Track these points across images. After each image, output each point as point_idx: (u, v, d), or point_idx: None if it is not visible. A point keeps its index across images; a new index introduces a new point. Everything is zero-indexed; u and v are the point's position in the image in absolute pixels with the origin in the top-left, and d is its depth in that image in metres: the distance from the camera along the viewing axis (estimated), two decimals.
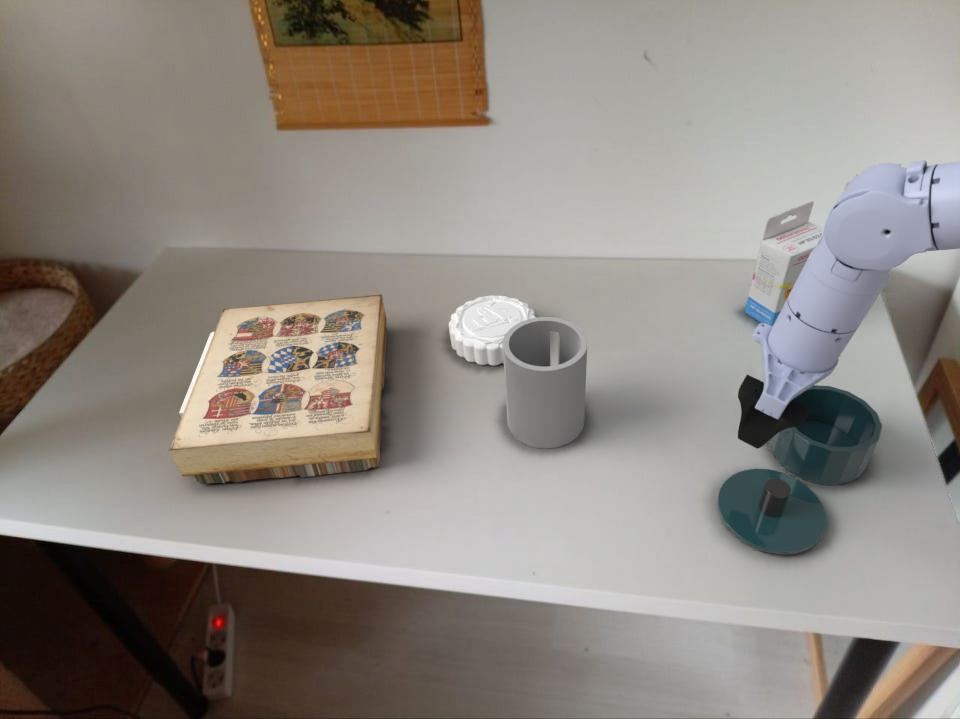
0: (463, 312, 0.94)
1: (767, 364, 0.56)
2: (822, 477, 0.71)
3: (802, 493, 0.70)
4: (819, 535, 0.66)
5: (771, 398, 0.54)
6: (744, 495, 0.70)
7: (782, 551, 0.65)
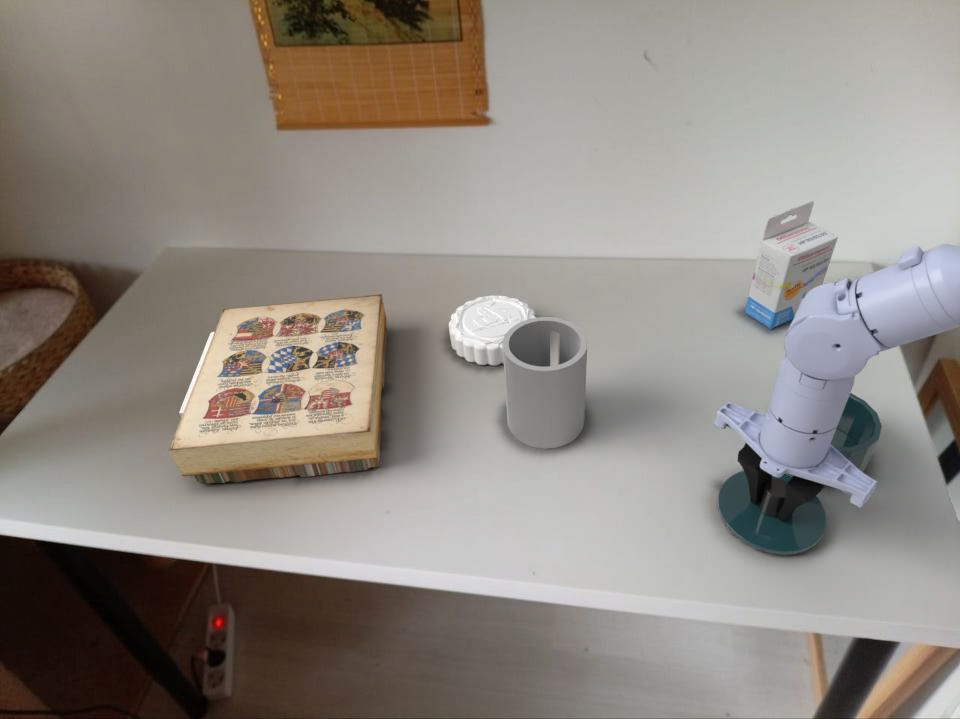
0: (463, 312, 0.94)
1: (824, 477, 0.59)
2: None
3: None
4: (819, 535, 0.66)
5: (870, 490, 0.58)
6: (745, 496, 0.70)
7: (782, 552, 0.65)
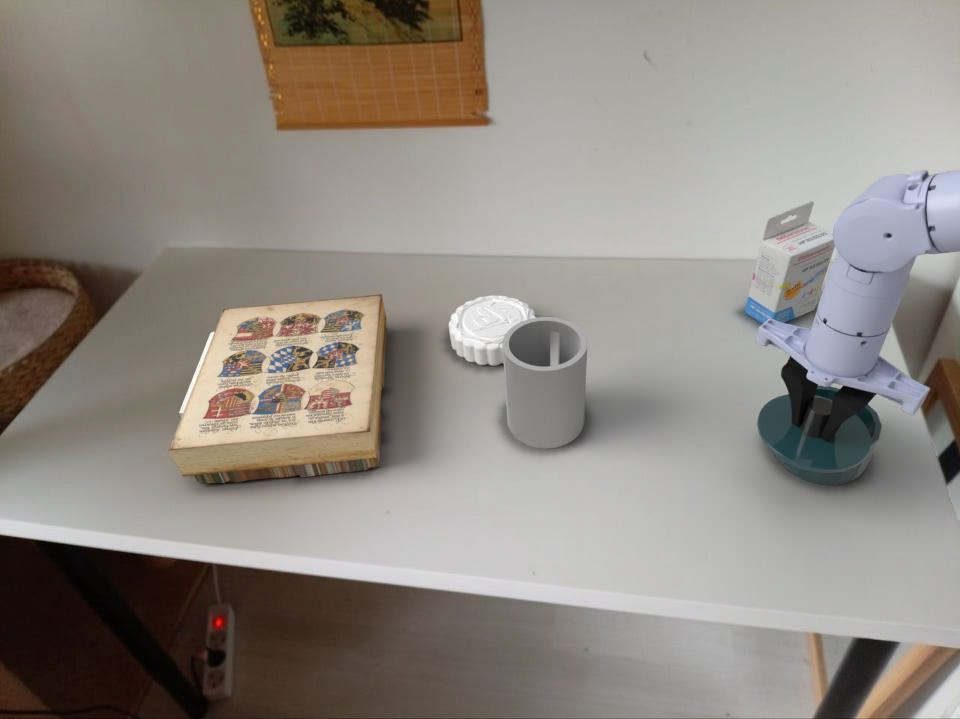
0: (463, 312, 0.94)
1: (874, 385, 0.58)
2: (822, 477, 0.71)
3: None
4: (864, 454, 0.64)
5: (923, 396, 0.56)
6: (785, 418, 0.68)
7: (827, 469, 0.63)
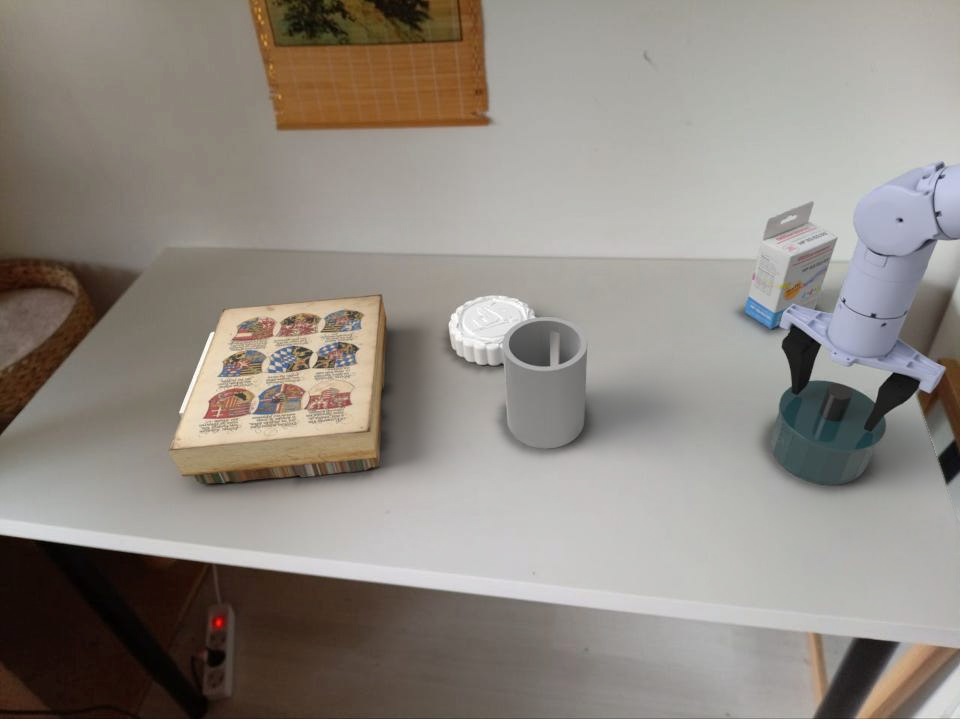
0: (463, 312, 0.94)
1: (893, 365, 0.61)
2: (822, 477, 0.71)
3: (861, 400, 0.72)
4: (880, 436, 0.68)
5: (940, 375, 0.60)
6: (805, 403, 0.72)
7: (845, 450, 0.67)
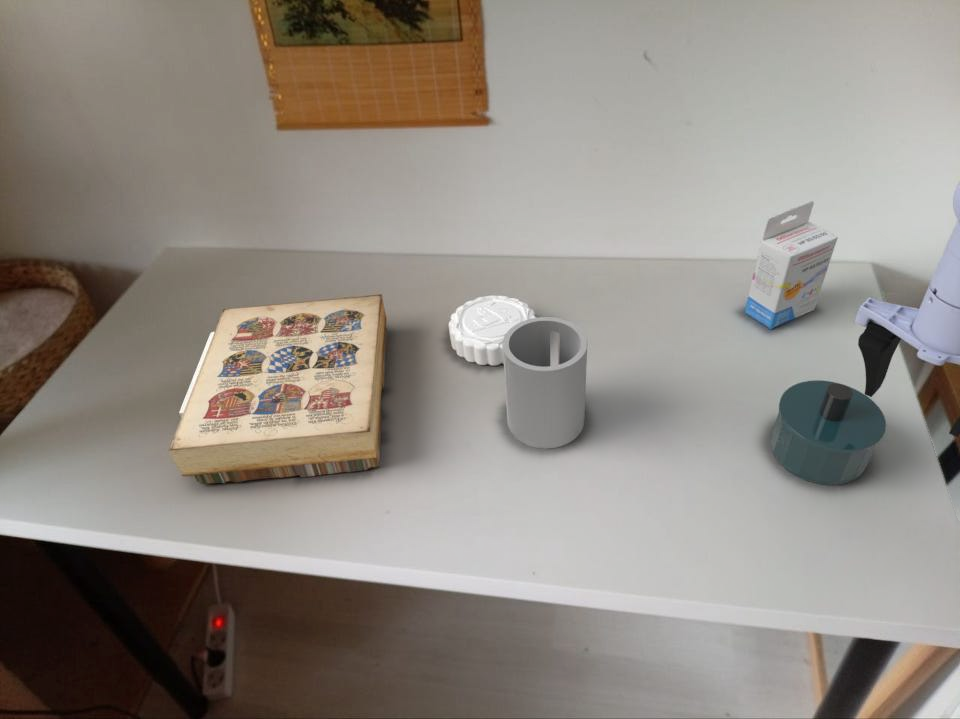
0: (463, 312, 0.94)
1: None
2: (822, 477, 0.71)
3: (861, 400, 0.72)
4: (880, 436, 0.68)
5: None
6: (805, 403, 0.72)
7: (845, 450, 0.67)
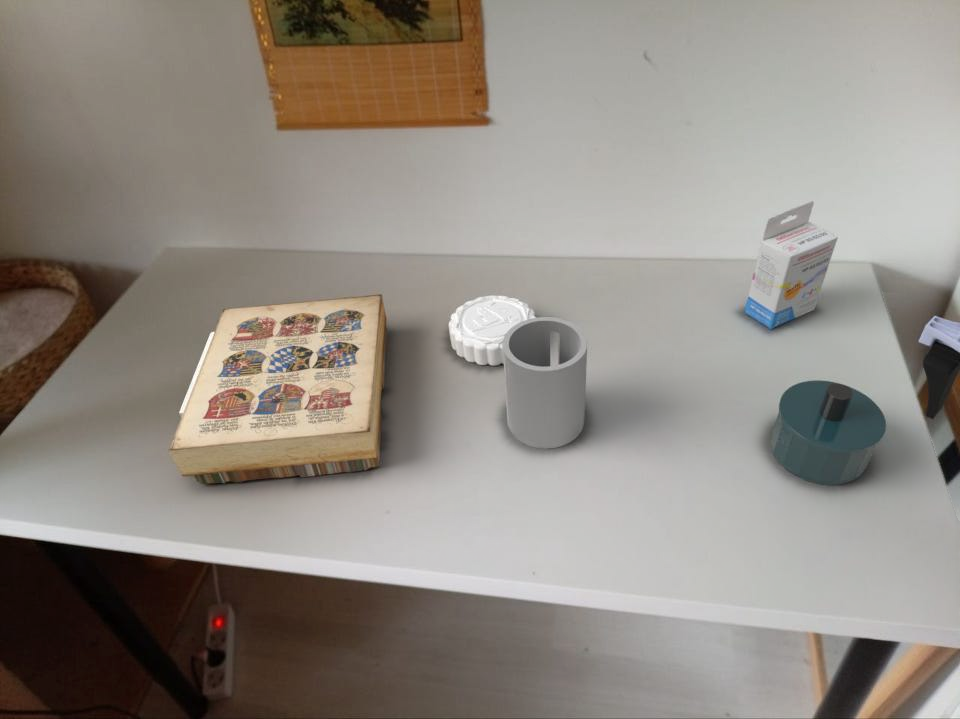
0: (463, 312, 0.94)
1: None
2: (822, 477, 0.71)
3: (861, 400, 0.72)
4: (880, 436, 0.68)
5: None
6: (805, 403, 0.72)
7: (845, 450, 0.67)
